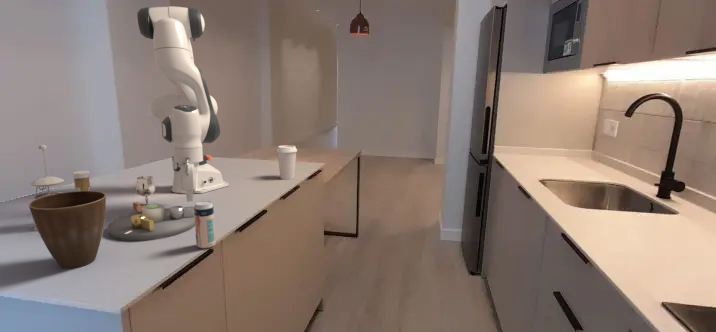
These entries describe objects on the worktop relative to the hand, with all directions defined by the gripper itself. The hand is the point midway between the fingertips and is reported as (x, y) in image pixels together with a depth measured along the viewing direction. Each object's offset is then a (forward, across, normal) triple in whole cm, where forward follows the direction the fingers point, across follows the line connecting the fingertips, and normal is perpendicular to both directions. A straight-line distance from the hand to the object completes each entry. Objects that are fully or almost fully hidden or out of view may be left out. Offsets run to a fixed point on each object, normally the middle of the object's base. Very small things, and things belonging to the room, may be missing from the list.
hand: (190, 197), depth 135 cm
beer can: (+7, -29, -5) cm, 30 cm away
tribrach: (+6, -8, +10) cm, 14 cm away
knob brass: (+4, -15, +12) cm, 20 cm away
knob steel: (+4, -8, +2) cm, 9 cm away
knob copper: (+4, 0, +15) cm, 15 cm away
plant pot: (+7, -30, +25) cm, 40 cm away
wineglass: (+6, +8, +14) cm, 18 cm away
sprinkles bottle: (+6, +17, +35) cm, 39 cm away
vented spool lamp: (+7, +2, +40) cm, 40 cm away
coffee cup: (+5, +46, -40) cm, 61 cm away
